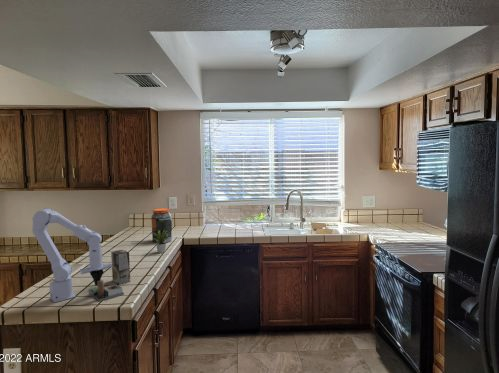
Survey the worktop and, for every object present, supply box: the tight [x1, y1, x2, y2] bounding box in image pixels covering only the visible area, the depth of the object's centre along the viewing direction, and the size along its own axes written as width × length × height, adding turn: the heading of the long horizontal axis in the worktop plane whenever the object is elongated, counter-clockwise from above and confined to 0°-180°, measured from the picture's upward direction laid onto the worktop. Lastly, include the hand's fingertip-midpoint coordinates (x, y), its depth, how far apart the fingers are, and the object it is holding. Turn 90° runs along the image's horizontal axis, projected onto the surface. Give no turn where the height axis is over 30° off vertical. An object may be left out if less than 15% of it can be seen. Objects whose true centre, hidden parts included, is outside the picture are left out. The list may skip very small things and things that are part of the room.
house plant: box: [151, 230, 173, 254], centre depth 258 cm, size 14×14×16 cm
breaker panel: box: [88, 283, 125, 302], centre depth 180 cm, size 12×13×3 cm
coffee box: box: [110, 249, 131, 285], centre depth 199 cm, size 9×6×16 cm
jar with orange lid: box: [150, 208, 173, 244], centre depth 293 cm, size 16×16×26 cm
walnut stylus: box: [97, 279, 105, 298], centre depth 174 cm, size 3×3×8 cm
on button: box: [91, 285, 98, 292], centre depth 180 cm, size 4×4×2 cm
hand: (97, 285), depth 180 cm, fingers closed
